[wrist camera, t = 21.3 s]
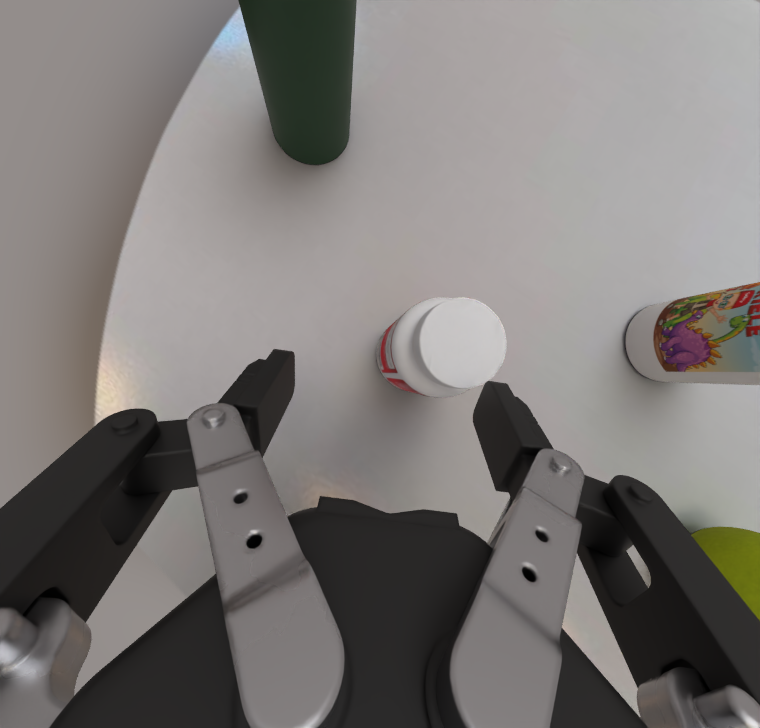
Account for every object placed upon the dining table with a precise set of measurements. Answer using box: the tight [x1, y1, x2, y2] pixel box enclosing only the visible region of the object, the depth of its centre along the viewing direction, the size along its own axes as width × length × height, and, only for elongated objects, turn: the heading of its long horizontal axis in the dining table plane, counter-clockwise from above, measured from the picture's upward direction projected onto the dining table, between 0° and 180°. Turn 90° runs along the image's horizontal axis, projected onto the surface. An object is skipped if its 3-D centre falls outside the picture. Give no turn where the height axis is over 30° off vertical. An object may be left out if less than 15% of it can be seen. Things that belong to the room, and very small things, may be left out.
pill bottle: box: [376, 297, 506, 398], centre depth 20 cm, size 6×6×11 cm
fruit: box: [691, 527, 760, 621], centre depth 24 cm, size 9×9×10 cm
